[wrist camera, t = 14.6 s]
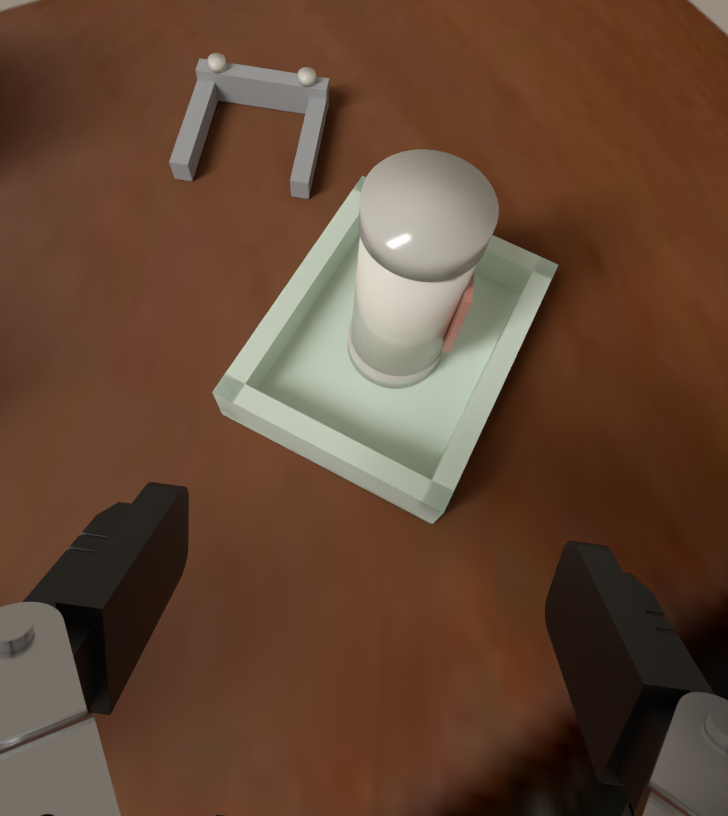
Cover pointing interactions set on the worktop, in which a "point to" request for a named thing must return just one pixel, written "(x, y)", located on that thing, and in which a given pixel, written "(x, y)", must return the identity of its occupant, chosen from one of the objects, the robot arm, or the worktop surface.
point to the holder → (259, 91)
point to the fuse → (416, 262)
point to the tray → (367, 402)
